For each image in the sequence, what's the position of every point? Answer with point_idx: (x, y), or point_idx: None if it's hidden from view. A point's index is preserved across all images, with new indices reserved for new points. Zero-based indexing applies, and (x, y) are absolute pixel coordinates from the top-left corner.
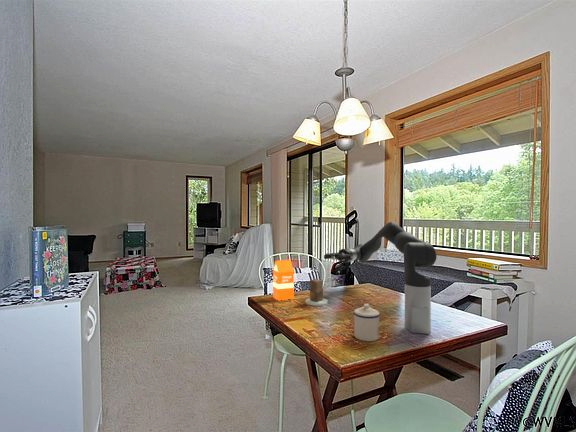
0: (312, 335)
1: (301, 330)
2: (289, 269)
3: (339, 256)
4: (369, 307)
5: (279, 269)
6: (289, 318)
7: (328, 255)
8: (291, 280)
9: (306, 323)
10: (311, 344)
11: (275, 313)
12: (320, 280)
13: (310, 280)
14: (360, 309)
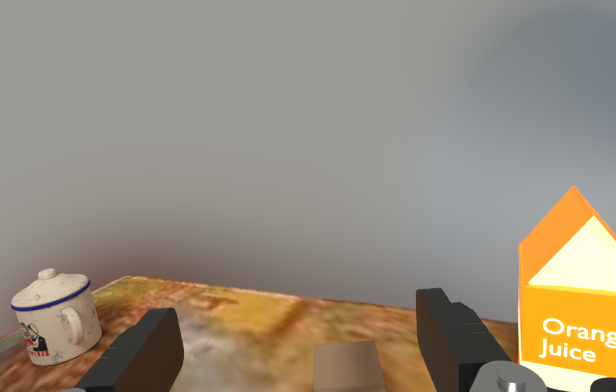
0: (201, 296)
1: (234, 297)
2: (534, 264)
3: (149, 314)
4: (39, 280)
5: (533, 234)
6: (306, 313)
7: (449, 363)
8: (521, 335)
9: (244, 319)
10: (189, 282)
11: (369, 311)
12: (320, 374)
13: (371, 340)
14: (68, 274)
